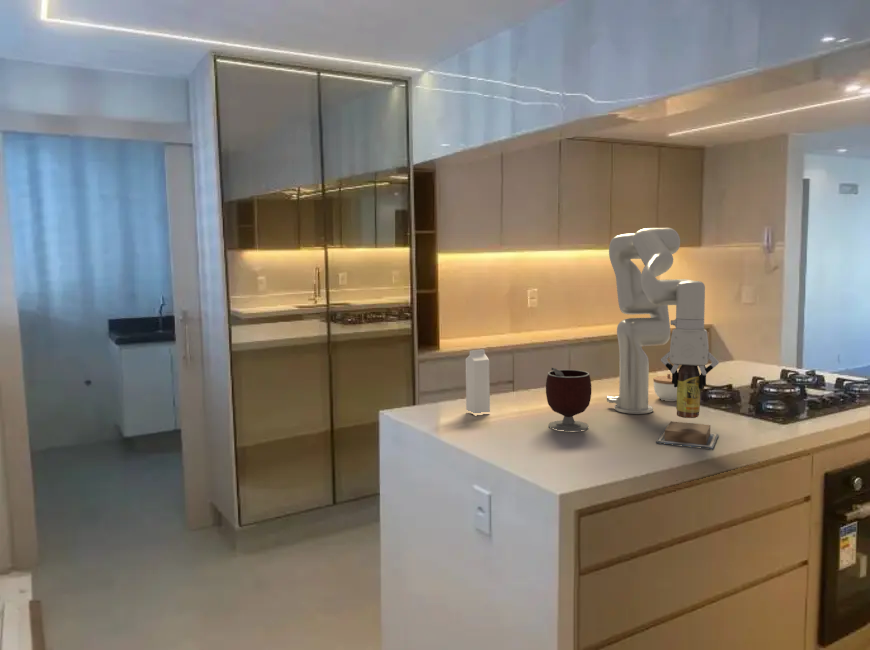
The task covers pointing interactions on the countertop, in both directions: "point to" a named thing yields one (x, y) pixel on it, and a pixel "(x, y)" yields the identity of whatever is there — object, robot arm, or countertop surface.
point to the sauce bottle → (688, 392)
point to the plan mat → (688, 435)
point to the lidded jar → (665, 388)
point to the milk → (477, 382)
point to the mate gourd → (568, 397)
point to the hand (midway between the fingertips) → (688, 386)
